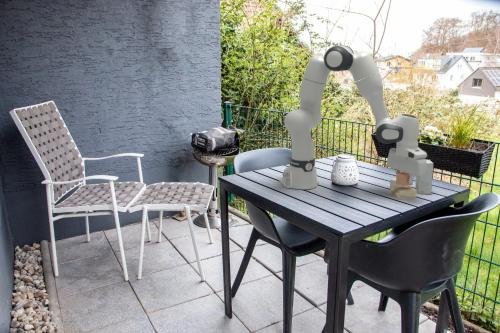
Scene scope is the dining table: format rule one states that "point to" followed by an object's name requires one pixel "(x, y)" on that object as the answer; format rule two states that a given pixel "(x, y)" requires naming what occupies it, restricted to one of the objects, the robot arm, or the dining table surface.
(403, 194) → the beech base
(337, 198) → the dining table surface
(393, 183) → the offwhite cube
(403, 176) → the terracotta cube
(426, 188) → the skincare box
